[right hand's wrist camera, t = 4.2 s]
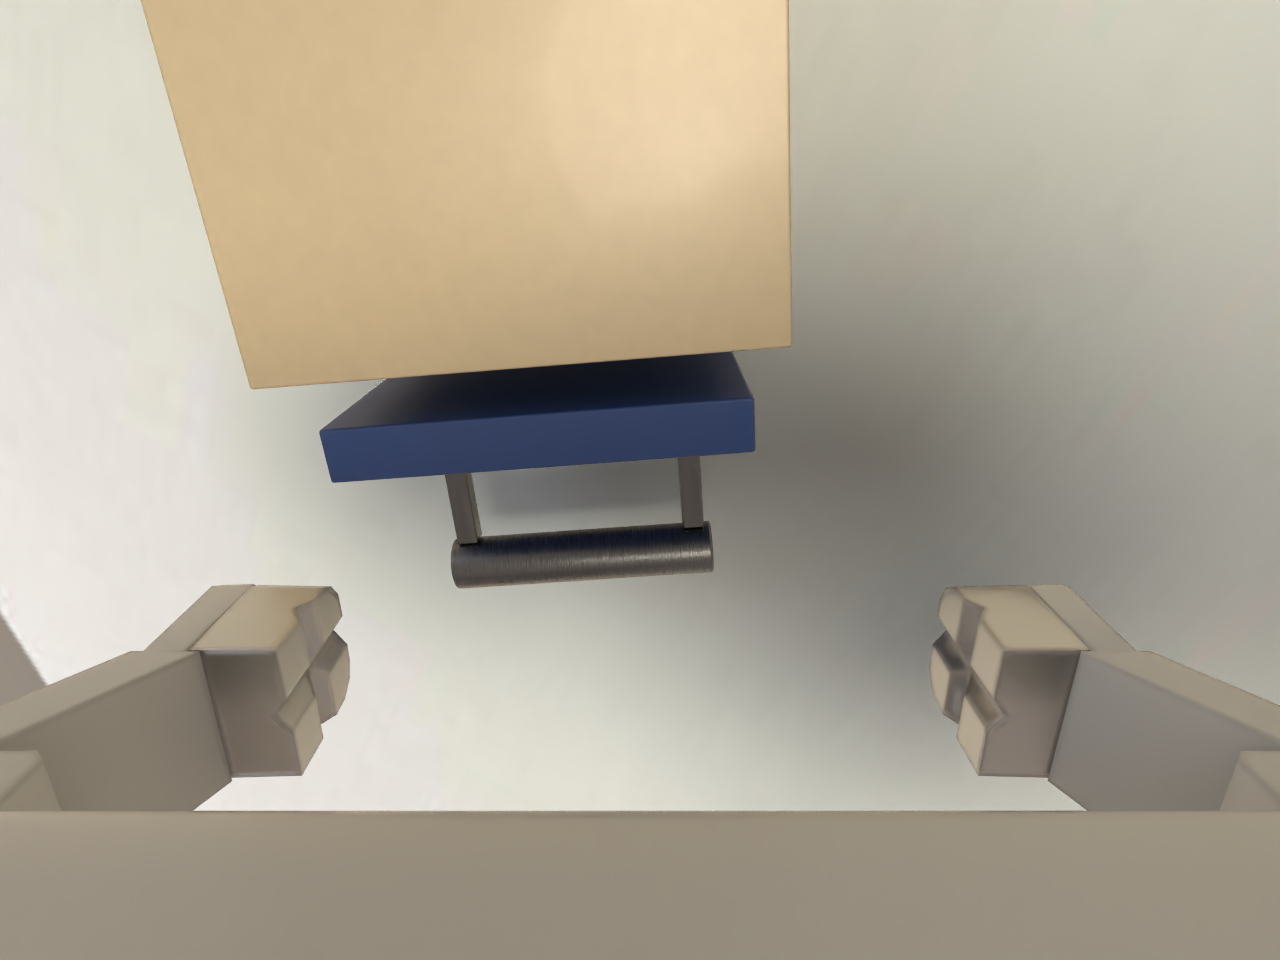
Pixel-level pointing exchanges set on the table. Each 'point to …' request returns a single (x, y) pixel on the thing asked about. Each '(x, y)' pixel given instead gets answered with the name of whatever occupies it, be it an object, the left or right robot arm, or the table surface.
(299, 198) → the cabinet
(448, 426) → the drawer
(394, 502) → the table surface
